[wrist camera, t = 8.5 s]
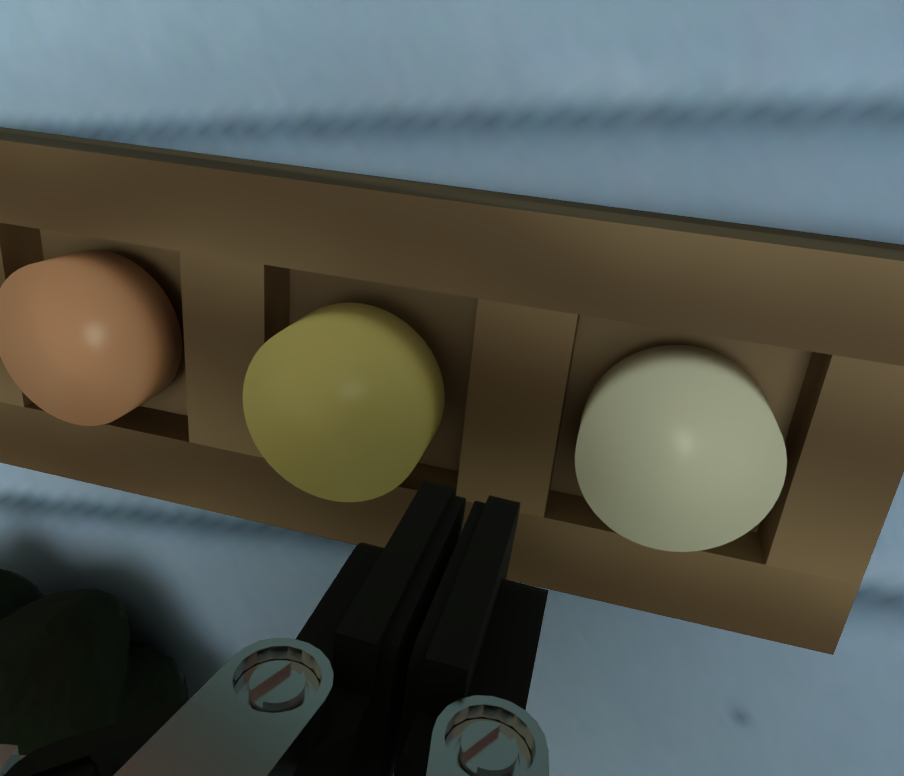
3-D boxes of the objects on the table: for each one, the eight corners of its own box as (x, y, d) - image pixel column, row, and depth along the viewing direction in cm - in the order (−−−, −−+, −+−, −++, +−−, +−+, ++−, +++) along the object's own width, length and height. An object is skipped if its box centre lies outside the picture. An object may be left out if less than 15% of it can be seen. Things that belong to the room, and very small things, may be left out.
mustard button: (436, 484, 19) (417, 519, 18) (276, 450, 20) (244, 481, 18) (453, 318, 17) (433, 340, 16) (276, 289, 18) (240, 307, 17)
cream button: (746, 529, 19) (756, 570, 17) (567, 493, 19) (560, 528, 18) (796, 362, 17) (813, 390, 15) (597, 330, 18) (592, 353, 16)
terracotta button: (185, 414, 21) (148, 440, 20) (52, 387, 22) (5, 409, 21) (177, 262, 20) (135, 276, 18) (32, 239, 21) (-20, 250, 19)
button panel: (812, 594, 21) (833, 654, 18) (33, 425, 26) (-26, 456, 23) (935, 249, 17) (980, 271, 15) (-10, 126, 22) (-86, 128, 19)
